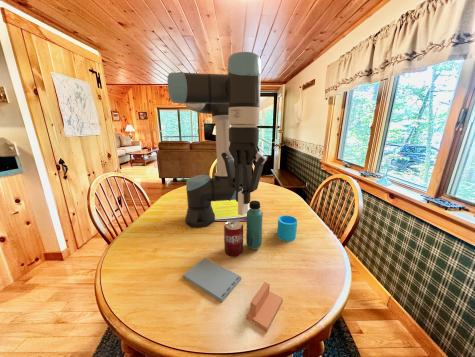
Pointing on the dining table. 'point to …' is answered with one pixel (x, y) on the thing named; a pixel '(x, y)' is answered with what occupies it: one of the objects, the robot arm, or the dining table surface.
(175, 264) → the dining table surface
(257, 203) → the beverage bottle
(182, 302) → the dining table surface
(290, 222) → the mug
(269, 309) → the stub
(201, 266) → the ticket
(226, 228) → the soda can
